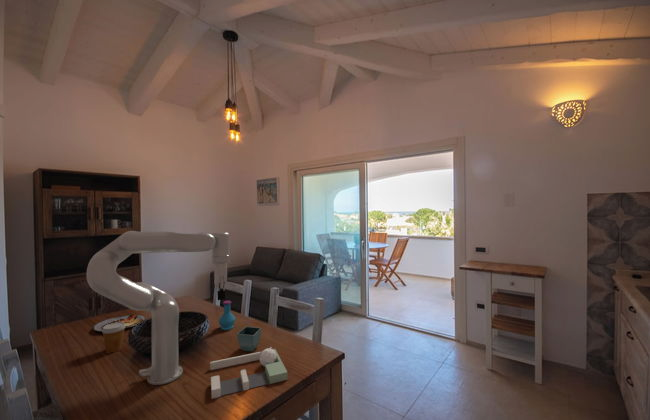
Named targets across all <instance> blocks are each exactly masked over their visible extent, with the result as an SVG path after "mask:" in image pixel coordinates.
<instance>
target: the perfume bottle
mask: <svg viewBox="0 0 650 420" xmlns="http://www.w3.org/2000/svg"><path fill="white" fill-rule="evenodd" d="M222 304H223V313H222V315H221V316H220V318H219V319H218V324H219V326H220V329H221V330H225V331H228V330H231V329H233V328H234V325H235V322H236V318H237V317H235V315H234V314H233V313H232V312H231V304H232V301H231V300H225V301H223V302H222Z"/></svg>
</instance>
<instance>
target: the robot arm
mask: <svg viewBox="0 0 650 420" xmlns="http://www.w3.org/2000/svg"><path fill="white" fill-rule="evenodd" d="M230 247H231V246H230V233H229V232H227V231H226V232H225V231H217V232H204V231H203V232H202V231H201V232H198V233H180V232H175V231H136V230H129V231H125V232H124V233H122V234H121V235H119V236H118V237H117V238H116V239H114V240H113V241H111V242H110V243H109V244H107V245H106V246H105V247H103V248H102V249H100V250H99V251H97V252H96V253H95V254H94V255H93V256H92V257H91V259H90V260H89V262H88V265H87V268H86V281H87V284H88V286H89V287H90V288H91V289H92V290H93V292H95V293H97V294H99V295H101V296H102V297H105V298H107V299H109V300H111V301H113V302H115V303H117V304H119V305H121V306H123V307H126V308H128V309H130V310H132V311H136V312H139V311H146V312H148V313H150V314H151V365H150V367H148V368H144V369H139V371H138V376H141V378H145V377H147V378H146V379H147V383H148V384H150V385H152V386H161V385H165V384H168V383H171V382H173V381H176V380H177V379H178V378H180V377H181V376H182V375H183V372H184V370H183V367H182V366H181V365H179V322H180V321H179V320H180V309H179V308H180V307H179V305H178V303H177V301H176V300H175V298H174V297H173V296H172V295H171V294H169V293H167V292H165V291H163V290H161V289H159V288H157V287H155V286H153V285H151V284H149V283H147V282H143V281H142V282H141V281H138V282H134V281H133V280H131V279H128V278H127V277H124V276H121V275H120V274H118V272H117V268H118V265H119V264H121V263H122V262H124V261H125V260H126V259H127V258H128V257H130V256H131V255H132V254H151V253H153V254H155V253H196V252H198V253H200V252H208V251H209V252H210V251H211V255H212V256H211V258H212V259H211V262H212V264H214V268H213V269H214V273H213V274H214V280H213V281H214V286H215V287H217V293H216V294H217V301H222V300H226V289H225V286H226V285H227V283H228V282H227V281H228V263H230V262H231V257H230V255H231V254H230V251H231V250H230V249H231V248H230Z"/></svg>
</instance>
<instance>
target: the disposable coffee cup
mask: <svg viewBox="0 0 650 420" xmlns="http://www.w3.org/2000/svg"><path fill="white" fill-rule="evenodd" d="M125 327H126V325H125V323H124V322H115V323H111V324H107V325H105V326H104V327H103V329H102V331H101V332H102V335H103V337H102V338H103V341H104V342H103V343H104V347H105V353H107V354H112V353H111V352H113V353H117V352H118V351H120V349H121V350H122V349H123V344H124V336H125V329H126V328H125ZM116 351H117V352H116Z"/></svg>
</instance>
